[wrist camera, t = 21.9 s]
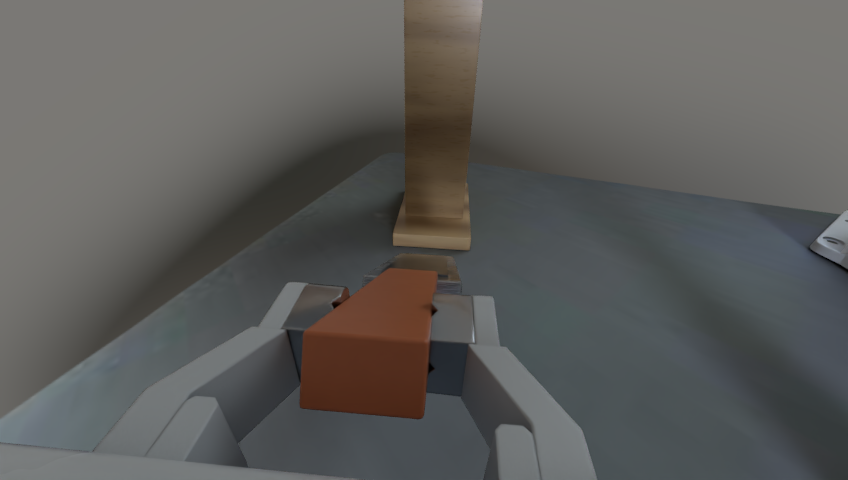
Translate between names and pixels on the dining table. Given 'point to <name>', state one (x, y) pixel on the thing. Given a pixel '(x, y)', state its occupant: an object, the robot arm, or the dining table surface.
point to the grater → (378, 341)
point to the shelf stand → (438, 121)
